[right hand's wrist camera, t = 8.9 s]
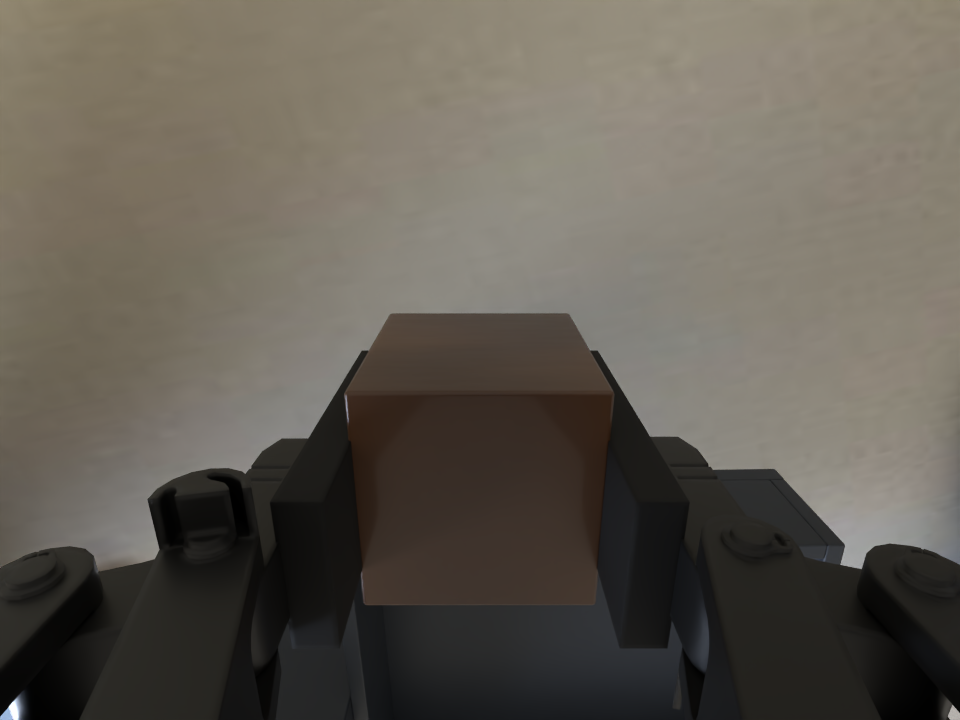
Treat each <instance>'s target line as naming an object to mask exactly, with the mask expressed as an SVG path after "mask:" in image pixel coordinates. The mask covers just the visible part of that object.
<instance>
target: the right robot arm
mask: <svg viewBox="0 0 960 720" xmlns="http://www.w3.org/2000/svg"><path fill="white" fill-rule="evenodd" d="M368 352H369V351H361V353H360V355H359V356H358V358H357V360H356V361H355V363H354V365H353V366H352V368H351V369H350V371H349V373H348V374H347V376H346V378H345V379H344V381H343V383H342V384H341V386H340V388H339V389H338V391H337V392H336V394H335V396H334V397H333V399H332V401H331V402H330V404H329V406H328V407H327V409H326V411H325V412H324V414H323V415H322V417H321V419H320V420H319V422H318V424H317V425H316V427H315V429H314V430H313V432H312V434H311V435H310V437H309V438H308V439H281V440H279V441H278V442H276V443H274V444H273V445H271V446H270V447H268V448H267V449H265V450H264V451H262V453H261V454H260V455H259V457H258V458H257V459H256V461H255V462H254V463H253V465H252V468H251V469H249V470H248V472H247V473H246V474H244V473H243V472H242V471H237V470H233V469H229V468H219V469H206V470H201V471H196V472H191V473H189V474H186V475H183V476H181V477H178V478H175V479H173V480H171V481H169V482H168V483H166V484H164V485H163V486H161V487H160V488H158V489H157V490H156V491H155V492H154V493H153V494H152V495H151V496H150V497H149V498H148V503H149V507H150V512H151V516H152V520H153V524H154V528H155V532H156V536H157V541H158V545H159V549H160V550H159V552H158V554H157V556H156V558H155V559H154V560H150V561H147V562H143V563H139V564H134V565H129V566H124V567H120V568H115V569H110V570H105V571H100V572H98V569H97V566H96V563H95V559H94V556H93V555H92V554H91V553H90V552H88V551H87V550H86V549H83V548H77V547H71V546H69V547H60V548H50V549H46V550H41V551H39V552H34V553H31V554H28V555H25V556H23V557H22V558H20V559H18V560H16V561H13V562H11V563H9V564H7V565H5V566H3V567H2V568H0V716H1V715H2V714H3V713H4V712H5V710H6V709H7V708H9V711H10V713H11V716H12V718H13V719H12V720H276V713H277V705H278V696H279V688H280V680H281V672H282V671H281V663H280V656H279V650H278V645H279V643H280V640H281V638H282V636H283V633H284V631H285V628H286V626H287V624H288V625H289V632H290V638H291V645H292V649H340V646H341V643H342V639H343V636H344V632H345V629H346V625H347V621H348V618H349V614H350V611H351V607H352V604H353V600H354V597H355V593H356V590H357V586H358V583H359V579H360V576H361V572H362V560H361V549H360V537H359V526H358V515H357V504H356V493H355V482H354V470H353V459H352V448H351V441H349V439H348V429H347V419H346V408H345V397H344V394H345V391H346V390H347V388H348V386H349V384H350V383H351V381H352V379H353V377H354V376H355V374H356V372H357V371H358V369H359V367H360V365H361V364H362V362H363V360H364V358H365V357H366V355H367V353H368ZM590 352H591V353H592V355H593V357H594V359H595V360H596V362H597V364H598V366H599V367H600V369H601V371H602V373H603V374H604V376H605V378H606V380H607V381H608V383H609V385H610V387H611V388H612V390H613V392H614V404H613V415H612V426H611V437H610V441H609V442H608V453H607V465H606V476H605V487H604V498H603V509H602V521H601V532H600V543H599V554H598V566H597V570H598V574H599V577H600V581H601V584H602V588H603V591H604V595H605V598H606V602H607V605H608V609H609V612H610V616H611V619H612V623H613V627H614V630H615V634H616V637H617V641H618V644H619V648H620V649H668V642H669V636H670V629H671V622H673V624H674V627H675V629H676V631H677V634H678V636H679V639H680V641H681V643H682V650H681V656H680V663H679V669H678V675H677V681H676V687H675V693H674V700H673V708H674V709H679V710H680V707H681V701H682V703H683V711H684V719H685V720H950V719H949V718H948V717H947V716H948V714H949V712H950V709H951V707H952V705H953V706H954V707H955V708H956V709H957V710H958V711H959V712H960V565H958V564H957V563H955V562H953V561H951V560H948V559H946V558H944V557H942V556H940V555H938V554H937V553H934V552H931V551H928V550H925V549H924V550H923V549H921V548H918V547H913V546H907V545H897V544H886V545H880V546H875V547H873V548H872V549H871V550H870V551H869V552H868V553H867V554H866V557H865V561H864V564H863V567H862V569H857V568H853V567H848V566H843V565H838V564H833V563H828V562H823V561H819V560H815V559H811V558H807V557H804V555H803V553H802V551H801V549H800V548H799V546H798V545H797V544H796V543H795V541H794V540H793V539H792V537H790V536H789V535H788V534H786V533H785V532H783V531H782V530H781V529H779V528H778V527H776V526H774V525H771V524H769V523H767V522H765V521H762V520H760V519H756V518H752V517H748V516H747V515H746V514H745V513H744V511H743V510H742V509H741V507H740V506H739V505H738V503H737V502H736V501H735V499H734V498H733V497H732V495H731V494H730V493H729V491H728V490H727V489H726V487H725V486H724V484H723V483H722V482H721V480H720V479H717V475H716V474H715V472H714V471H713V470H712V468H711V467H708V463H707V462H706V460H705V459H704V458H703V456H702V455H701V454H700V452H699V451H698V450H697V449H696V448H694V447H693V446H691V445H690V444H688V443H687V442H685V441H684V440H682V439H680V438H679V437H650V436H649V434H648V433H647V431H646V429H645V428H644V426H643V424H642V423H641V421H640V419H639V418H638V416H637V415H636V413H635V411H634V410H633V408H632V406H631V405H630V403H629V401H628V400H627V398H626V396H625V395H624V393H623V392H622V390H621V388H620V387H619V385H618V383H617V382H616V380H615V378H614V377H613V375H612V373H611V372H610V370H609V369H608V367H607V365H606V364H605V362H604V360H603V359H602V357H601V355H600V354H599V352H598V351H590Z"/></svg>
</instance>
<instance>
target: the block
mask: <svg viewBox="0 0 960 720" xmlns="http://www.w3.org/2000/svg"><path fill="white" fill-rule="evenodd" d="M344 397H345V408H346V419H347V429H348V439H349V441H351V448H352V459H353V470H354V482H355V493H356V504H357V515H358V526H359V537H360V549H361V560H362V572H361V582H362V593H363V602H364V604H365V605H594V604H595V602H596V593H597V582H598V570H597V566H598V554H599V543H600V532H601V521H602V509H603V498H604V487H605V476H606V465H607V453H608V442H609V441H610V437H611V426H612V415H613V404H614V392H613V390H612V388H611V387H610V385H609V383H608V381H607V380H606V378H605V376H604V374H603V373H602V371H601V369H600V367H599V366H598V364H597V362H596V360H595V359H594V357H593V355H592V353H591V352H590V350H589V348H588V346H587V345H586V343H585V341H584V339H583V338H582V336H581V334H580V332H579V331H578V329H577V327H576V325H575V324H574V322H573V320H572V318H571V317H570V315H569V314H390V315H389V317H388V319H387V320H386V322H385V324H384V326H383V327H382V329H381V331H380V333H379V334H378V336H377V338H376V339H375V341H374V343H373V345H372V346H371V348H370V350H369V352H368V353H367V355H366V357H365V358H364V360H363V362H362V364H361V365H360V367H359V369H358V371H357V372H356V374H355V376H354V377H353V379H352V381H351V383H350V384H349V386H348V388H347V390H346V391H345V394H344Z"/></svg>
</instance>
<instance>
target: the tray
mask: <svg viewBox="0 0 960 720" xmlns="http://www.w3.org/2000/svg"><path fill="white" fill-rule="evenodd" d="M713 471H714V472H715V474H716V475H717V479H720V480H721V482H722V483H723V484H724V486H725V487H726V489H727V490H728V491H729V493H730V494H731V495H732V497H733V498H734V499H735V501H736V502H737V503H738V505H739V506H740V507H741V509H742V510H743V511H744V513H745V514H746V515H747V516H748V517H752V518H756V519H760V520H762V521H765V522H767V523H769V524H771V525H774V526H776V527H778V528H779V529H781V530H782V531H783V532H785V533H786V534H788V535H789V536H790V537H792V539H793V540H794V541H795V543H796V544H797V545H798V546H799V548H800V549H801V551H802V553H803V555H804V557H807V558H811V559H815V560H819V561H823V562H828V563H833V564H838V565H840V563H841V560H842V556H843V552H844V548H845V545H844V543H843V542H842V541H841V540H840V539H839V538H838V537H837V536H836V535H835V534H834V533H833V531H832V530H831V529H830V528H829V527H828V526H827V525H826V524H825V523H824V522H823V521H822V520H821V519H820V518H819V516H818V515H817V514H816V513H815V512H814V511H813V510H812V509H811V508H810V507H809V506H808V505H807V504H806V503H805V502H804V500H803V499H802V498H801V497H800V496H799V495H798V494H797V493H796V492H795V491H794V490H793V489H792V488H791V487H790V485H789V484H788V483H787V482H786V481H785V480H784V479H783V478H782V477H781V476H780V474H779V473H778V472H777V471H776V470H775V469H744V470H713ZM278 650H279V656H280V663H281V671H282V672H281V680H280V688H279V696H278V705H277V713H276V720H685V719H684V711H683V703H682V701H681V707H680V710H679V709H674V708H673V700H674V693H675V687H676V681H677V675H678V669H679V663H680V656H681V650H682V643H681V641H680V639H679V636H678V634H677V631H676V629H675V627H674V624H673V622H671V629H670V636H669V642H668V649H620V648H619V644H618V641H617V637H616V634H615V630H614V627H613V623H612V619H611V616H610V612H609V609H608V605H607V602H606V598H605V595H604V591H603V588H602V584H601V581H600V577H599V574H598V582H597V593H596V602H595V604H594V605H365V604H364V602H363V593H362V582H361V576H360V579H359V583H358V586H357V590H356V593H355V597H354V600H353V604H352V607H351V611H350V614H349V618H348V621H347V625H346V629H345V632H344V636H343V639H342V643H341V646H340V649H292V645H291V638H290V632H289V625H288V624H287V626H286V628H285V631H284V633H283V636H282V638H281V640H280V643H279V645H278Z"/></svg>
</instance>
